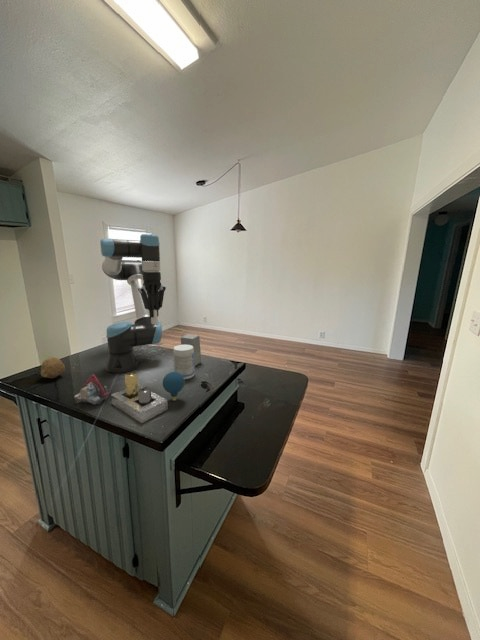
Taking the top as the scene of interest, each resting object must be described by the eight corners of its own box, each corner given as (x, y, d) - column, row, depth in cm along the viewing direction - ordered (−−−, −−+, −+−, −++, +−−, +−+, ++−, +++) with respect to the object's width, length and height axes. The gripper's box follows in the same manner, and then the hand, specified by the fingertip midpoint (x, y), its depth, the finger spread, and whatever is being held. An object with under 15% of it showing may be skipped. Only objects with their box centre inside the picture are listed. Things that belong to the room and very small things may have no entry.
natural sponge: (70, 373, 124) (67, 354, 122) (58, 382, 115) (55, 361, 113) (51, 373, 123) (48, 354, 121) (37, 382, 115) (34, 361, 112)
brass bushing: (124, 403, 99) (122, 375, 96) (135, 399, 102) (133, 371, 99) (131, 407, 96) (128, 378, 93) (141, 402, 100) (139, 374, 97)
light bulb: (172, 393, 107) (171, 366, 104) (189, 397, 104) (188, 370, 101) (159, 403, 99) (157, 374, 97) (176, 408, 96) (175, 378, 94)
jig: (111, 403, 98) (109, 385, 96) (137, 393, 107) (135, 375, 105) (142, 423, 87) (140, 402, 85) (167, 409, 95) (166, 389, 94)
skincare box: (201, 362, 140) (201, 335, 137) (193, 367, 134) (193, 338, 131) (189, 359, 144) (188, 333, 141) (181, 364, 138) (180, 336, 134)
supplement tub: (197, 377, 122) (197, 348, 119) (178, 382, 117) (177, 352, 114) (189, 370, 130) (189, 343, 127) (171, 374, 125) (170, 346, 122)
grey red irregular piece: (119, 390, 104) (101, 375, 96) (102, 415, 98) (81, 402, 89) (100, 384, 109) (81, 369, 100) (82, 408, 102) (60, 395, 94)
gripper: (143, 272, 104) (146, 327, 109) (169, 271, 114) (171, 322, 119) (132, 271, 108) (136, 325, 113) (158, 271, 118) (161, 320, 123)
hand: (154, 323), depth 116 cm, fingers closed
